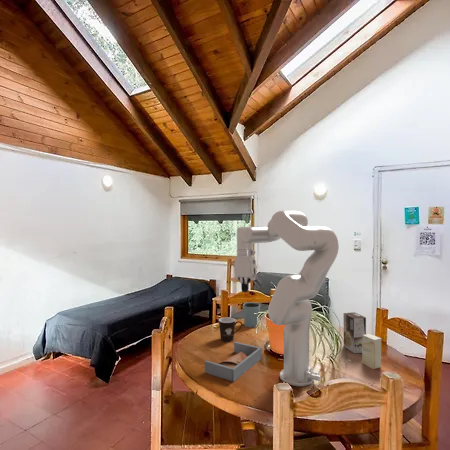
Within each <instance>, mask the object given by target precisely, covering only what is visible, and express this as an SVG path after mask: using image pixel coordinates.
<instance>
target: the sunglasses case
mask: <svg viewBox="0 0 450 450" xmlns="http://www.w3.org/2000/svg"><path fill="white" fill-rule="evenodd" d="M247 357H248V356H247V355H245V354H244V353H242V351H241V352H240V353H235V354H234V355H231V356H230V357H228V358H225V360H223V361H221V362H218V363H217V364H220V365H224V366H227V367H231V368H234V367H235V366H236V365H238V364H239V363H240V362H242V361H243V360H244V359H245V358H247Z"/></svg>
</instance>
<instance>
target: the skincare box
mask: <svg viewBox="0 0 450 450" xmlns="http://www.w3.org/2000/svg"><path fill="white" fill-rule="evenodd" d="M361 355H362V356H361V364H363V365H364V366H366V367H369V368H370V369H373V370H375V369H380V368H381V366H382V338H381V337H379V336H376V335H374V334H371V333H366V334H365V335H363V343H362V353H361Z"/></svg>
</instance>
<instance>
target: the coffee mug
mask: <svg viewBox="0 0 450 450" xmlns="http://www.w3.org/2000/svg"><path fill="white" fill-rule="evenodd" d="M236 320H237V319H235V318H233V317H226V316H225V317H220V318H219V319H218V325H219V334H220V340H221V342H224V343H230V342H233V341H234V339H235V334H236V333H238V332H239V331H240V330H241V329H242V328H243V322H242V321H236ZM238 323H239V324H240V327H239V328H238V329H237V330H235V328H236V325H237V324H238Z"/></svg>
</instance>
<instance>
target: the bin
mask: <svg viewBox="0 0 450 450" xmlns="http://www.w3.org/2000/svg"><path fill="white" fill-rule="evenodd" d="M262 349H263V348H262V347H260V346H259V347H258V346H255V345H252V344H251V345H250V344H247V343H246V344H245V343H242V342H238V341H234V342H233V352H234V353H235V354H238V353H240V352H241V351H242V353H244V354H245V355H246V356H247V358H245V359H244V360H243V361H242V362H240V363H239V364H238V365H236V366H235V367H234V368H231V367H227V366H224V365H220V364H218V363H216V362H213V361H209V360H205V361H204V373H205V374H208V375H211V376H215V377H217V378H221V379H225V380H227V381H230V382H236V381H237V380H238V379H239V378H241V376H243V375H244V374H245V373H246V372H247V371H248V370H250V369H251V368H252V367H253V366H254V365H256V364H257V362H259V361H260V360H261V359H263V357H262V354H263V353H262Z"/></svg>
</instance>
